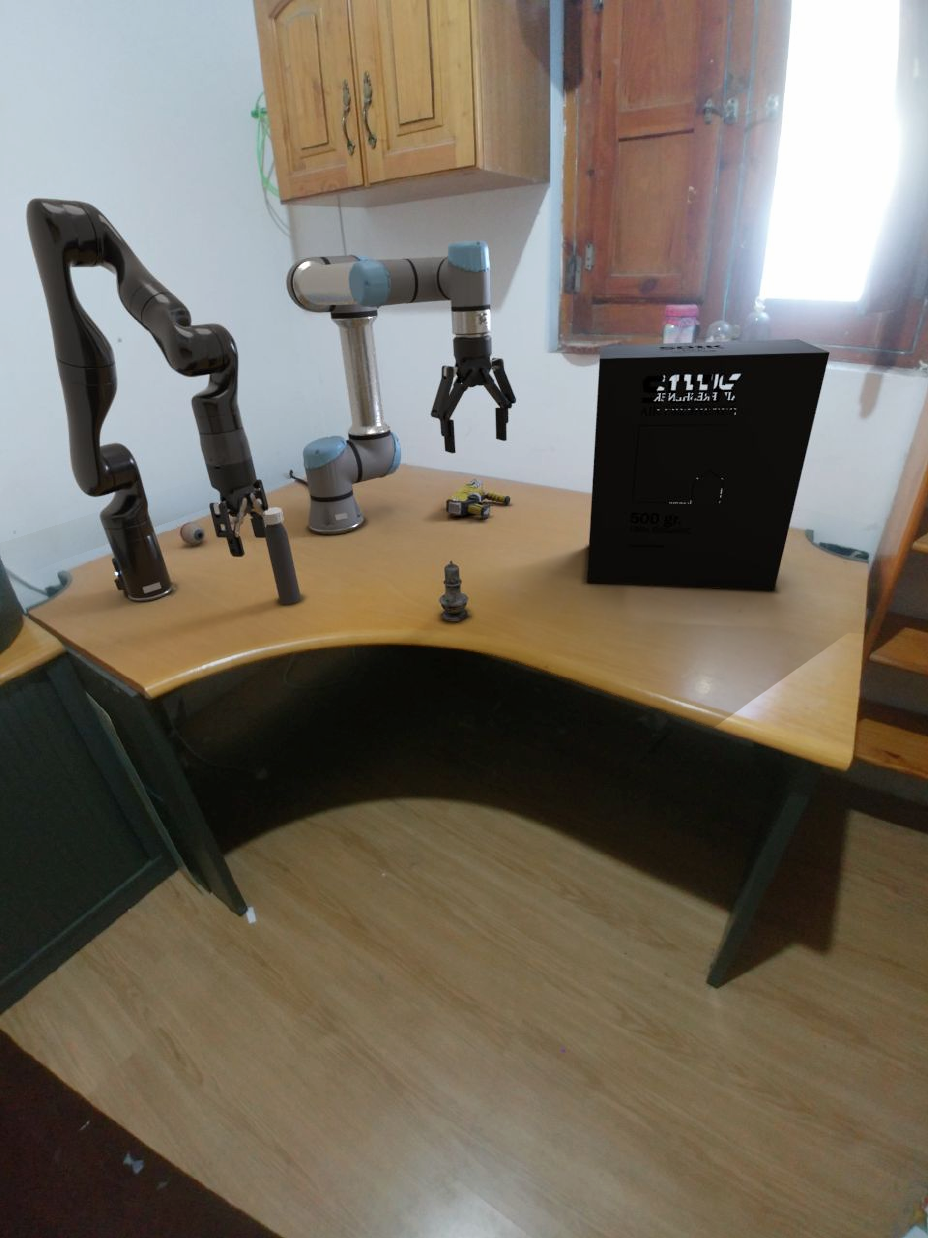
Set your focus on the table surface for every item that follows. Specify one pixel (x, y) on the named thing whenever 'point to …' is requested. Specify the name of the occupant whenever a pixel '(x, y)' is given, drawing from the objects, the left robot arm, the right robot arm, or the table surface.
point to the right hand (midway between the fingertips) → (476, 445)
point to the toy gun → (473, 500)
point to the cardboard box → (699, 461)
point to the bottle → (282, 564)
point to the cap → (273, 516)
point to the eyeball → (192, 533)
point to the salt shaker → (453, 595)
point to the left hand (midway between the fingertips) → (250, 546)
